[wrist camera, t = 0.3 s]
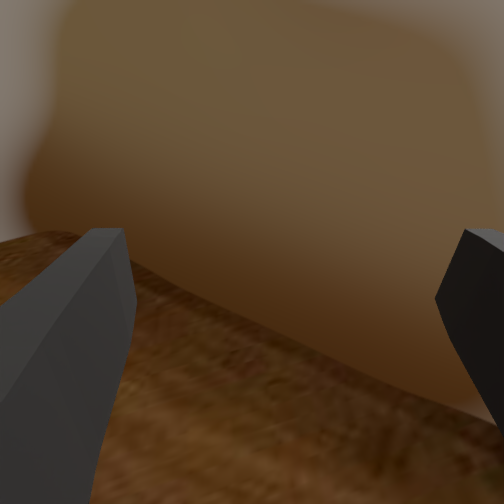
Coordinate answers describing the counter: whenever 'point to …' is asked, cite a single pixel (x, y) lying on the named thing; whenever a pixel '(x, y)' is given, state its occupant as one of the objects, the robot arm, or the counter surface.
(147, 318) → the counter surface
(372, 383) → the counter surface
